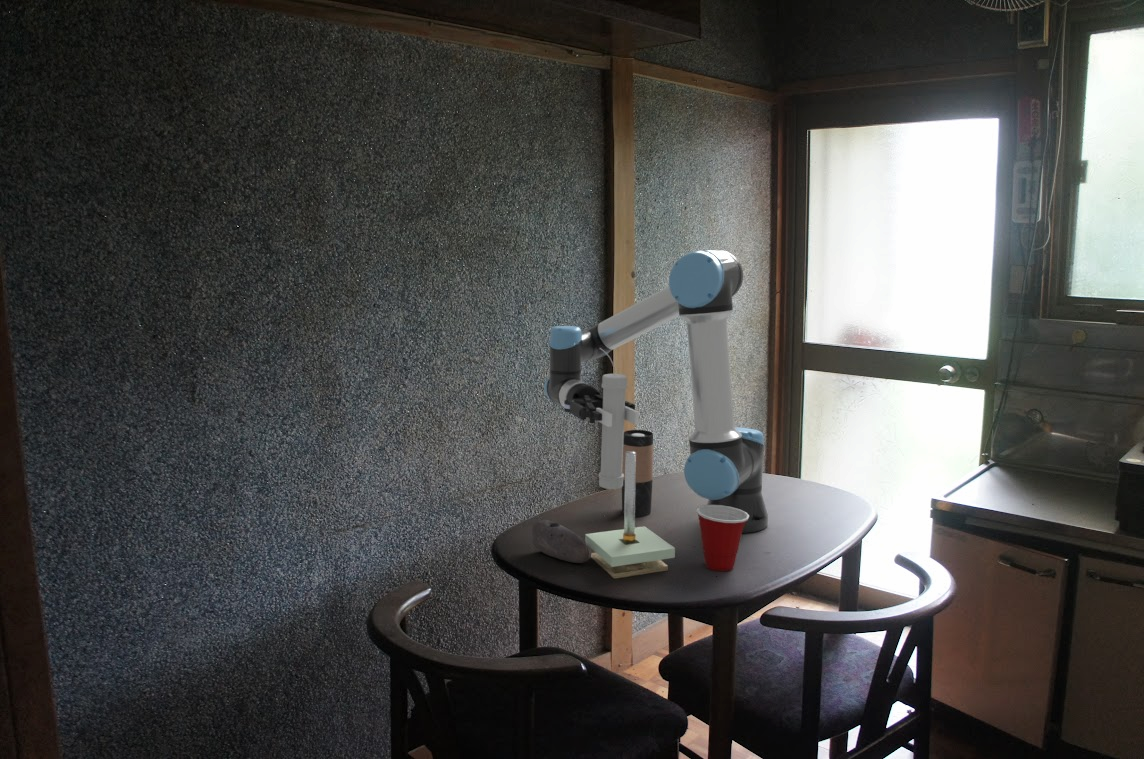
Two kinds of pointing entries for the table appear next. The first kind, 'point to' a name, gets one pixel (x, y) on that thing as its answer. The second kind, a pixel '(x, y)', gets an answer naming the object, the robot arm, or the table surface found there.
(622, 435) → the pipe
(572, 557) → the perforated stone tool
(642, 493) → the travel mug
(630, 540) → the post stand
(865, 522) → the table surface
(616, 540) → the pale mint square tile
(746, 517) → the plastic cup
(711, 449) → the robot arm
